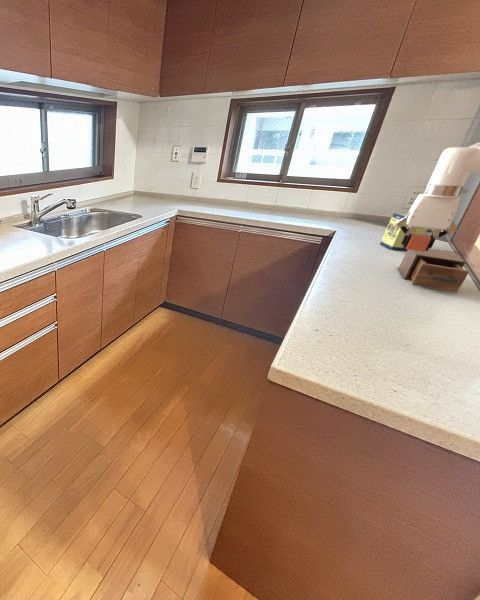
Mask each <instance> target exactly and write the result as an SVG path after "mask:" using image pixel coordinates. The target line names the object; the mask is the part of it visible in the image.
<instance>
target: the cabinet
mask: <svg viewBox="0 0 480 600" xmlns="http://www.w3.org/2000/svg"><path fill="white" fill-rule="evenodd" d="M418 257H420V258H427V259H433V260H440V261H446V262H453V263H458V264H459V265H460V266H461V267H462V268H463V267H464V266H465V264H466V261H465V260H464V259H463V258H461V257H460V256H459V255H458V254H457V253H456V252H455V251H451V250H445V249H443V250H442V249H437V248H431V249H430V248H429V249H428V251H425V252H423V251H416V250H407V251H405V254H404V256H403V258H402V260H401V263H400V265H399V266H398V270H399V272H400V273H401V275H402V277H403V280H407V281H413V280H412V279H411V277H410V273H411V271H412V269H413V267H414V265H415V263H416V261H417V259H418ZM463 269H464V268H463Z"/></svg>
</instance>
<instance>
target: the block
mask: <svg viewBox="0 0 480 600" xmlns="http://www.w3.org/2000/svg"><path fill="white" fill-rule="evenodd" d="M430 240H431V237H430V236H429V235H422V234H413V233H411V239H410V241H409V243H408V245H407V247H406V249H408V250H416V251H423V252H425V250H426V248H427V246H428V244H429V242H430Z"/></svg>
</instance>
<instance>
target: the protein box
mask: <svg viewBox="0 0 480 600" xmlns="http://www.w3.org/2000/svg"><path fill="white" fill-rule="evenodd" d="M407 214H408V213H407ZM407 214H406V213H404V214H403V213H392V216H391V218H390V219H389V223H388V224H387V227H386V230H385V232H384V234H383V236H382V238H381V240H380V245H381V246H383V247H386V248H388V249H389V250H391V251H400V252H401V251H403V252H407V250H408V249H406V248H403V246H402V245H403V244H401V242H402V240H403V238H404V236H405V233H404V232H403V231H402V229H400V228H399V227H398V226H397V225H396V222H398V221H399V220H401V219H402V218H404V217H405V216H407ZM403 225H404V226H405V227H406V228H408V227H409V226H408V225H407V224H406V223H405V222H404V223H403ZM412 233H413V234H422V235H429V236H431V234H432V229H428V228H418V227H416V229H415V230H414V231H413V232H412ZM430 249H432V247H431V248H430Z"/></svg>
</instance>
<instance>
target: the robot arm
mask: <svg viewBox="0 0 480 600" xmlns="http://www.w3.org/2000/svg"><path fill="white" fill-rule="evenodd" d="M470 174H475V175H480V142H476V143H474V144H472V145H469V146H451V147H447V148H445V149H443V151H442V153H441V154H440V157H439V159H438V161H437V164H436V166H435V168H434V170H433V172H432V175H431V177H430V178H429V180H428V183H427V185H426V187H425V190H424V192H423V193H420V194H418V196H417V197H416V199H415V200H414V201H413V203H412V205H411V207H410V208H409V210H408V212H407V216H405V217H404V218H402V219H401V220H399V221H398V222H396V225H397V226H398V227H399V228H400V229H402V231H403V232H404V233H405V236H404V238H403V240H402V242H401V244H403V245H402V246H403V248H406V247H407V245H408V243H409V241H410V239H411V233H412V232H413V231H414V230H415V229H416V227H418V228H428V229H432V234H431V236H430V237H431V240H430V242H429V244H428V246H427V248H426V250H425V251H428V249H429V248H431V249H432V247H433V245H434V244H435V242H436V240H437V239H439V238H441V237H443V236H445V235H449V234H450V233H451V234H452V233H455V232H457V230H458V228H457V226H456V224H455V222H454V218H455V216H456V213H457V210H458V207H459V204H460V200H461V197H460V195H461V194H467V193H468V191H469V188H465V187H464V185H465V183H466V181H467V179H468V177H469V175H470ZM404 222H405V223H406V224H407V225H408V226H409V227H408V228H406V227H405V226H404V225H403V223H404Z"/></svg>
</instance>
